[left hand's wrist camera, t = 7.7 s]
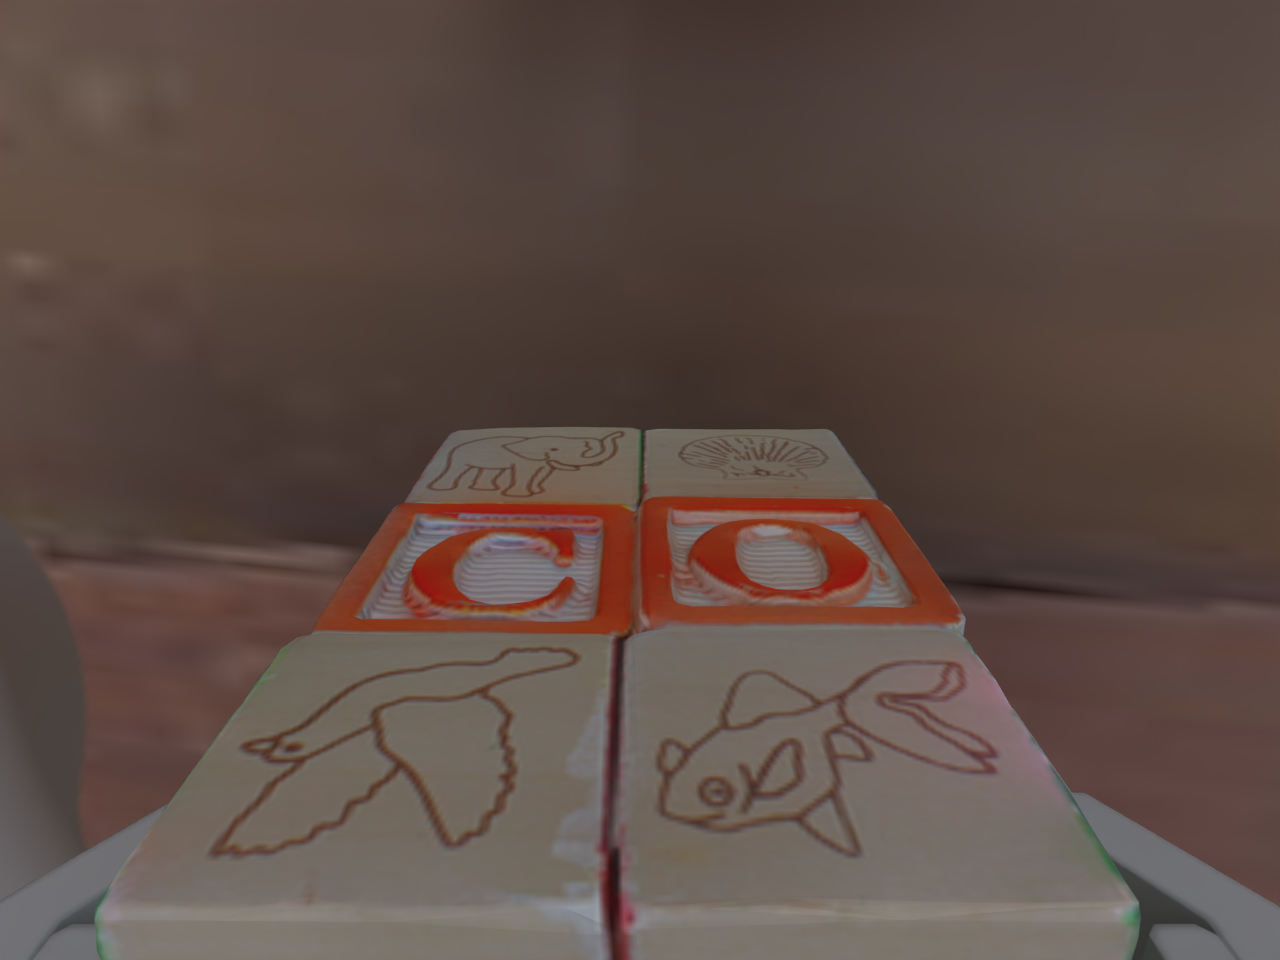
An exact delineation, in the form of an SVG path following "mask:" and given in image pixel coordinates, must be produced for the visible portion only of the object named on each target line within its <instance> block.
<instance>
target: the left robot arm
mask: <svg viewBox="0 0 1280 960" xmlns="http://www.w3.org/2000/svg"><path fill="white" fill-rule="evenodd" d="M1011 708H1012V707H1011ZM1012 709H1013V708H1012ZM1013 711H1014V713H1015V714H1016V716H1017V717H1018V718H1019V720H1020V721H1021V723H1022V724H1023V726H1024V727H1025V728H1026V730H1027V731H1028V733H1029V734H1030V735H1031V733H1030V732H1029V730H1028V729H1027V727H1026V726H1025V724H1024V723H1023V722H1022V720H1021V719H1020V717H1019V716H1018V714H1017V713H1016V711H1015V710H1014V709H1013ZM1031 737H1032V738H1033V740H1034V741H1035V743H1036V744H1037V745H1038V743H1037V742H1036V740H1035V739H1034V737H1033V736H1032V735H1031ZM1038 747H1039V748H1040V746H1039V745H1038ZM1040 750H1041V751H1042V753H1043V754H1044V755H1045V753H1044V752H1043V750H1042V749H1041V748H1040ZM1045 757H1046V758H1047V756H1046V755H1045ZM1047 760H1048V761H1049V759H1048V758H1047ZM1049 763H1050V764H1051V766H1052V767H1053V768H1054V766H1053V765H1052V763H1051V762H1050V761H1049ZM1054 770H1055V771H1056V769H1055V768H1054ZM1056 773H1057V774H1058V772H1057V771H1056ZM1058 776H1059V777H1060V779H1061V780H1062V781H1063V779H1062V778H1061V776H1060V775H1059V774H1058ZM1063 783H1064V784H1065V782H1064V781H1063ZM1065 786H1066V787H1067V785H1066V784H1065ZM1067 789H1068V790H1069V792H1070V793H1071V794H1072V796H1073V798H1074V799H1075V801H1076V803H1077V804H1078V806H1079V808H1080V809H1081V811H1082V813H1083V814H1084V816H1085V818H1086V819H1087V821H1088V823H1089V824H1090V826H1091V828H1092V829H1093V831H1094V832H1095V834H1096V836H1097V837H1098V839H1099V840H1100V842H1101V844H1102V845H1103V847H1104V848H1105V850H1106V852H1107V853H1108V855H1109V856H1110V858H1111V860H1112V861H1113V863H1114V864H1115V866H1116V867H1117V869H1118V871H1119V872H1120V874H1121V875H1122V877H1123V878H1124V880H1125V881H1126V883H1127V884H1128V886H1129V887H1130V889H1131V890H1132V892H1133V894H1134V895H1135V897H1136V898H1137V900H1138V901H1139V907H1140V915H1141V921H1140V929H1139V937H1138V941H1137V944H1136V947H1135V950H1134V953H1133V956H1132V959H1131V960H1280V907H1279V906H1277V905H1275V904H1274V903H1272V902H1270V901H1269V900H1267V899H1265V898H1263V897H1262V896H1260V895H1258V894H1257V893H1255V892H1253V891H1252V890H1250V889H1248V888H1246V887H1245V886H1243V885H1241V884H1240V883H1238V882H1236V881H1234V880H1233V879H1231V878H1229V877H1228V876H1226V875H1224V874H1222V873H1221V872H1219V871H1217V870H1216V869H1214V868H1212V867H1210V866H1209V865H1207V864H1205V863H1204V862H1202V861H1200V860H1199V859H1197V858H1195V857H1193V856H1192V855H1190V854H1188V853H1187V852H1185V851H1183V850H1181V849H1180V848H1178V847H1176V846H1175V845H1173V844H1171V843H1169V842H1168V841H1166V840H1164V839H1163V838H1161V837H1159V836H1157V835H1156V834H1154V833H1152V832H1151V831H1149V830H1147V829H1145V828H1144V827H1142V826H1140V825H1139V824H1137V823H1135V822H1134V821H1132V820H1130V819H1128V818H1127V817H1125V816H1123V815H1122V814H1120V813H1118V812H1116V811H1115V810H1113V809H1111V808H1110V807H1108V806H1106V805H1104V804H1103V803H1101V802H1099V801H1098V800H1096V799H1094V798H1092V797H1091V796H1089V795H1087V794H1086V793H1072V792H1071V791H1070V789H1069V788H1068V787H1067ZM167 805H168V804H166V805H164V806H163V807H161V808H159V809H157V810H156V811H154V812H152V813H151V814H149V815H147V816H145V817H144V818H142V819H140V820H138V821H137V822H135V823H133V824H132V825H130V826H128V827H126V828H125V829H123V830H121V831H119V832H118V833H116V834H114V835H112V836H111V837H109V838H107V839H106V840H104V841H102V842H100V843H99V844H97V845H95V846H93V847H92V848H90V849H88V850H86V851H85V852H83V853H81V854H80V855H78V856H76V857H74V858H73V859H71V860H69V861H67V862H66V863H64V864H62V865H60V866H59V867H57V868H55V869H54V870H52V871H50V872H48V873H47V874H45V875H43V876H41V877H40V878H38V879H36V880H35V881H33V882H31V883H29V884H28V885H26V886H24V887H22V888H21V889H19V890H17V891H16V892H14V893H12V894H10V895H9V896H7V897H5V898H3V899H2V900H0V960H101V959H100V957H99V955H98V952H97V944H96V931H95V910H96V906H97V904H98V903H99V901H100V900H101V898H102V897H103V895H104V893H105V892H106V890H107V889H108V887H109V886H110V884H111V882H112V881H113V879H114V878H115V876H116V874H117V873H118V871H119V870H120V868H121V867H122V866H123V864H124V863H125V862H126V861H127V859H128V858H129V857H130V855H131V854H132V853H133V851H134V850H135V849H136V847H137V846H138V845H139V843H140V842H141V840H142V839H143V838H144V836H145V835H146V834H147V832H148V831H149V829H150V828H151V827H152V825H153V824H154V823H155V821H156V820H157V818H158V817H159V816H160V814H161V813H162V812H163V810H164V809H165V807H166V806H167Z"/></svg>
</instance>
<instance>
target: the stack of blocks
mask: <svg viewBox="0 0 1280 960" xmlns="http://www.w3.org/2000/svg"><path fill="white" fill-rule="evenodd" d="M965 619H966V618H965V617H964V615H963V613H962V611H961V609H960V608H959V606H958V604H957V602H956V601H955V599H954V598H953V597H952V595H951V594H950V592H949V591H948V589H947V588H946V587H945V585H944V584H943V582H942V581H941V580H940V578H939V577H938V575H937V574H936V572H935V571H934V570H933V568H932V567H931V565H930V564H929V562H928V561H927V559H926V558H925V556H924V555H923V553H922V552H921V550H920V549H919V547H918V546H917V545H916V543H915V542H914V541H913V539H912V538H911V537H910V535H909V534H908V533H907V531H906V530H905V529H904V527H903V526H902V524H901V523H900V522H899V520H898V519H897V517H896V516H895V514H894V513H893V511H892V510H891V509H890V507H888V506H887V505H885V504H884V503H883V502H881V501H880V500H879V497H878V495H877V492H876V491H875V489H874V488H873V486H872V485H871V483H870V482H869V481H868V479H867V478H866V477H865V476H864V474H863V473H862V472H861V470H860V469H859V467H858V466H857V464H856V463H855V461H854V460H853V459H852V457H851V456H850V455H849V454H848V453H847V451H846V450H845V448H844V447H843V445H842V444H841V442H840V441H839V439H838V438H837V436H836V435H835V434H834V432H832V431H830V430H827V429H802V430H785V429H737V430H717V429H654V430H646V431H643V430H638V429H634V428H612V427H534V428H493V429H476V430H460V431H456V432H454V433H451V434H450V435H449V436H448V437H447V439H446V440H445V441H444V443H443V444H442V445H441V446H440V448H439V449H438V451H437V452H436V453H435V455H434V456H433V457H432V459H431V460H430V461H429V463H428V464H427V466H426V467H425V469H424V471H423V472H422V474H421V476H420V477H419V479H418V481H417V482H416V484H415V485H414V486H413V488H412V491H411V492H410V494H409V495H408V497H407V498H406V500H405V503H402V504H400V505H398V506H395V507H394V508H393V510H392V511H391V512H390V513H389V514H388V516H387V518H386V519H385V521H384V523H383V524H382V526H381V527H380V529H379V531H378V532H377V533H376V534H375V536H374V537H373V538H372V540H371V541H370V543H369V544H368V546H367V547H366V549H365V550H364V552H363V554H362V555H361V557H360V558H359V560H358V561H357V562H356V564H355V565H354V566H353V568H352V569H351V570H350V572H349V573H348V574H347V576H346V577H345V578H344V580H343V581H342V582H341V584H340V585H339V587H338V588H337V590H336V591H335V593H334V594H333V596H332V598H331V599H330V601H329V602H328V604H327V605H326V607H325V609H324V610H323V612H322V613H321V615H320V617H319V618H318V620H317V621H316V623H315V626H314V628H313V630H312V633H311V635H307V636H301V637H298V638H296V639H295V640H293V641H292V642H290V643H289V644H287V645H286V646H284V647H283V648H281V650H280V651H279V653H278V654H277V656H276V657H275V659H274V660H273V662H272V663H271V664H270V666H269V667H268V668H267V669H266V671H265V672H264V673H263V674H262V676H261V677H260V678H259V679H258V681H257V682H256V683H255V684H254V686H253V687H252V689H251V691H250V692H249V694H248V696H247V697H246V699H245V701H244V702H243V703H242V704H241V706H240V707H239V708H238V709H237V710H236V711H235V712H234V714H233V715H232V716H231V717H230V718H229V720H228V721H227V723H226V724H225V725H224V727H223V728H222V730H221V731H220V733H219V734H218V736H217V737H216V738H215V739H214V741H213V742H212V743H211V744H210V746H209V747H208V749H207V750H206V752H205V753H204V755H203V756H202V758H201V759H200V761H199V762H198V763H197V765H196V766H195V767H194V769H193V770H192V772H191V773H190V774H189V776H188V777H187V778H186V780H185V781H184V783H183V784H182V785H181V787H180V788H179V790H178V791H177V792H176V794H175V795H174V796H173V798H172V799H171V801H170V802H169V803H168V805H167V806H166V807H165V809H164V810H163V812H162V813H161V814H160V816H159V817H158V818H157V820H156V821H155V823H154V824H153V825H152V827H151V828H150V829H149V831H148V832H147V834H146V835H145V836H144V838H143V839H142V840H141V842H140V843H139V845H138V846H137V847H136V849H135V850H134V851H133V853H132V854H131V855H130V857H129V858H128V859H127V861H126V862H125V863H124V864H123V866H122V867H121V868H120V870H119V871H118V873H117V874H116V876H115V878H114V879H113V881H112V882H111V884H110V886H109V887H108V889H107V890H106V892H105V893H104V895H103V897H102V898H101V900H100V901H99V903H98V904H97V906H96V910H95V931H96V944H97V952H98V955H99V957H100V959H101V960H1131V959H1132V956H1133V953H1134V950H1135V947H1136V944H1137V941H1138V937H1139V929H1140V921H1141V915H1140V907H1139V901H1138V900H1137V898H1136V897H1135V895H1134V894H1133V892H1132V890H1131V889H1130V887H1129V886H1128V884H1127V883H1126V881H1125V880H1124V878H1123V877H1122V875H1121V874H1120V872H1119V871H1118V869H1117V867H1116V866H1115V864H1114V863H1113V861H1112V860H1111V858H1110V856H1109V855H1108V853H1107V852H1106V850H1105V848H1104V847H1103V845H1102V844H1101V842H1100V840H1099V839H1098V837H1097V836H1096V834H1095V832H1094V831H1093V829H1092V828H1091V826H1090V824H1089V823H1088V821H1087V819H1086V818H1085V816H1084V814H1083V813H1082V811H1081V809H1080V808H1079V806H1078V804H1077V803H1076V801H1075V799H1074V798H1073V796H1072V794H1071V793H1070V792H1069V790H1068V789H1067V787H1066V786H1065V784H1064V783H1063V781H1062V780H1061V779H1060V777H1059V776H1058V774H1057V773H1056V771H1055V770H1054V768H1053V767H1052V766H1051V764H1050V763H1049V761H1048V760H1047V758H1046V757H1045V755H1044V754H1043V753H1042V751H1041V750H1040V748H1039V747H1038V745H1037V744H1036V743H1035V741H1034V740H1033V738H1032V737H1031V735H1030V734H1029V733H1028V731H1027V730H1026V728H1025V727H1024V726H1023V724H1022V723H1021V721H1020V720H1019V718H1018V717H1017V716H1016V714H1015V713H1014V711H1013V709H1012V708H1011V706H1010V704H1009V702H1008V701H1007V699H1006V697H1005V695H1004V694H1003V692H1002V690H1001V688H1000V687H999V685H998V683H997V681H996V680H995V679H994V677H993V676H992V674H991V673H990V672H989V670H988V669H987V668H986V666H985V665H984V664H983V662H982V661H981V659H980V658H979V657H978V655H977V654H976V652H975V651H974V649H973V648H972V646H971V644H970V643H969V642H968V641H967V639H966V638H965V637H964V636H963V635H964V627H965Z"/></svg>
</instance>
